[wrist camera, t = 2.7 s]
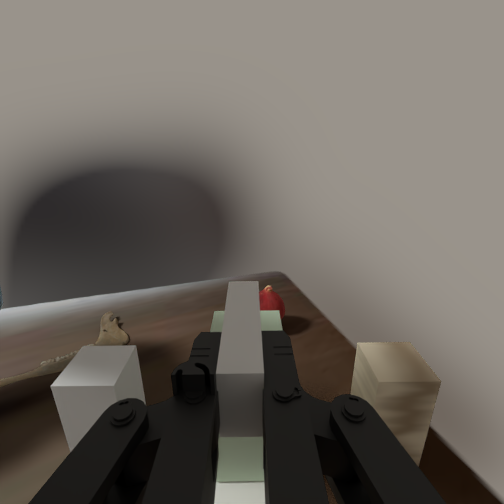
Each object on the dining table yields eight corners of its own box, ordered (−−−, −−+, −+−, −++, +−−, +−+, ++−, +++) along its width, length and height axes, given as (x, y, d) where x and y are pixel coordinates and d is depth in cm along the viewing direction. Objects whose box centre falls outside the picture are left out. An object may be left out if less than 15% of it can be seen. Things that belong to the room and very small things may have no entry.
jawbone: (146, 336, 51) (145, 326, 51) (10, 432, 35) (5, 419, 34) (111, 318, 55) (110, 309, 55) (-27, 397, 39) (-32, 385, 38)
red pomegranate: (257, 341, 48) (257, 297, 45) (245, 322, 53) (244, 281, 50) (290, 333, 50) (291, 290, 47) (274, 316, 55) (275, 276, 52)
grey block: (81, 487, 28) (50, 386, 24) (105, 437, 33) (83, 346, 28) (135, 486, 28) (113, 385, 24) (151, 437, 33) (136, 345, 29)
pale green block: (281, 480, 27) (286, 353, 22) (214, 481, 27) (205, 353, 22) (275, 422, 33) (279, 310, 28) (220, 423, 33) (214, 311, 28)
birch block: (360, 483, 28) (378, 382, 24) (344, 434, 33) (357, 342, 29) (414, 482, 28) (441, 381, 24) (390, 433, 33) (409, 342, 29)
